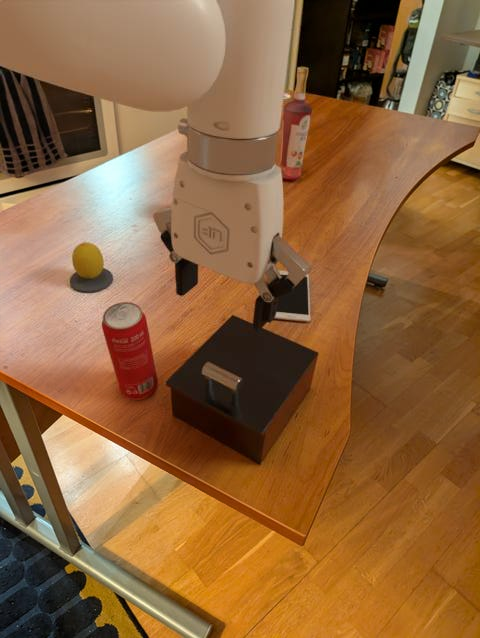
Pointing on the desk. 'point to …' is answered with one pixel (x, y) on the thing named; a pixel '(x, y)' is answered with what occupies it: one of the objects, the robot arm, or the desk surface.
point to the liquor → (295, 130)
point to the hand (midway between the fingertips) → (223, 305)
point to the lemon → (87, 260)
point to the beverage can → (130, 349)
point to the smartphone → (295, 302)
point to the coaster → (91, 282)
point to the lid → (244, 374)
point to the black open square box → (235, 433)
